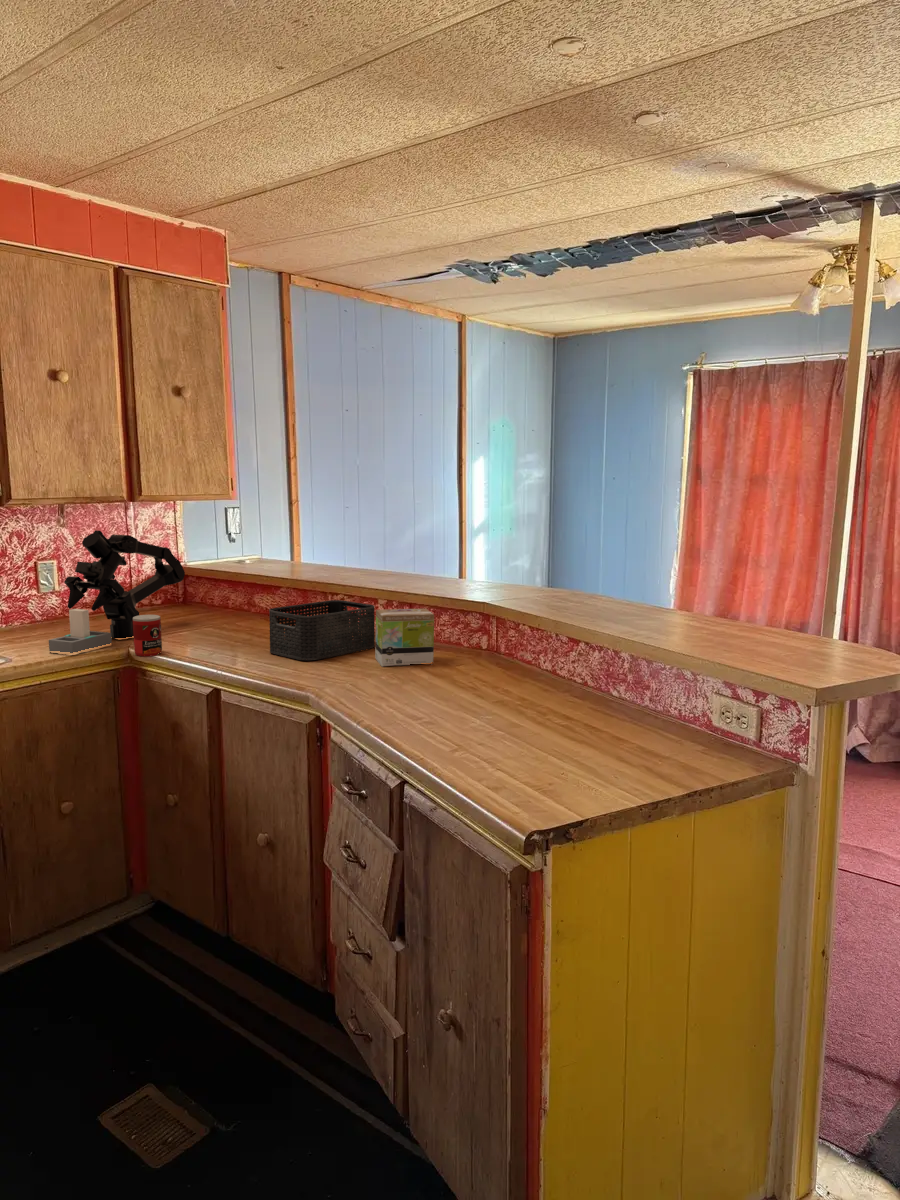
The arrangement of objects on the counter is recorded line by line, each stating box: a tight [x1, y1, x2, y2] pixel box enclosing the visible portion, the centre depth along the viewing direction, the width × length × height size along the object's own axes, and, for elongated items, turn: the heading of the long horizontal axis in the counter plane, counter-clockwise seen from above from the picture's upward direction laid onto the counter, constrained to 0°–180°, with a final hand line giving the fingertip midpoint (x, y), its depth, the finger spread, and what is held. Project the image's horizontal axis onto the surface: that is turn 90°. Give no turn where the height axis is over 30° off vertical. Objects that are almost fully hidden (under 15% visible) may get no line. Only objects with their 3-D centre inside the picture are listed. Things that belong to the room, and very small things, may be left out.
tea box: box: [374, 608, 435, 667], centre depth 235 cm, size 15×10×15 cm, turn 105°
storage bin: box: [268, 599, 376, 661], centre depth 250 cm, size 29×19×13 cm
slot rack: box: [48, 630, 113, 653], centre depth 249 cm, size 15×9×4 cm, turn 159°
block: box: [68, 608, 91, 638], centre depth 248 cm, size 2×5×12 cm, turn 69°
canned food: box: [133, 614, 163, 657], centre depth 243 cm, size 8×8×11 cm
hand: (80, 609), depth 248 cm, fingers open, 9 cm apart
